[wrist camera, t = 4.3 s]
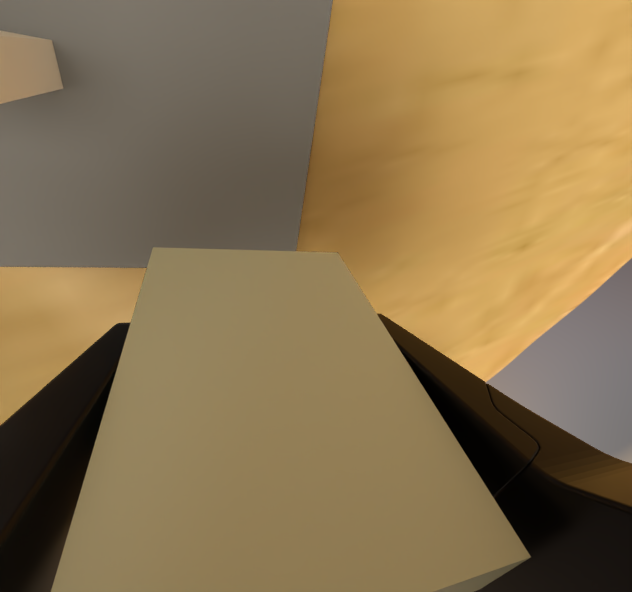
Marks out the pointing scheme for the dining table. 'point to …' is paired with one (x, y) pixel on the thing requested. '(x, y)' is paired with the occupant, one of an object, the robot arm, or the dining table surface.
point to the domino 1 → (27, 67)
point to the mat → (160, 129)
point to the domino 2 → (274, 445)
